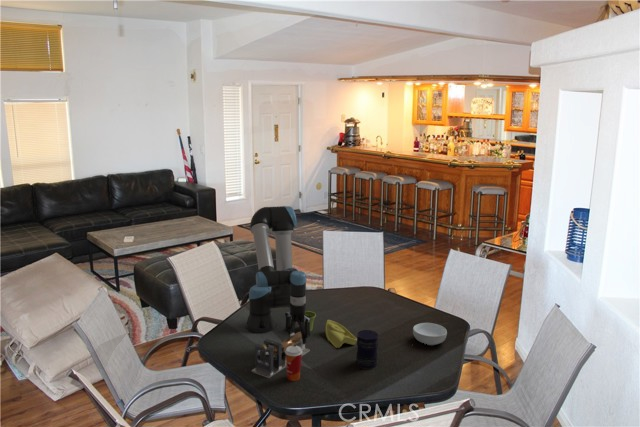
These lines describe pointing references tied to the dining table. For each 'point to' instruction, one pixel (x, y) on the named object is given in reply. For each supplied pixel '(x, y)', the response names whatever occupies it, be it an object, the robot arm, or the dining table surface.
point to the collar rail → (271, 359)
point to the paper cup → (293, 362)
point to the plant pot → (311, 315)
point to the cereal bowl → (429, 333)
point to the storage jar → (367, 349)
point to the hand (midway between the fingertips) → (297, 347)
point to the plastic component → (338, 334)
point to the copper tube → (288, 342)
